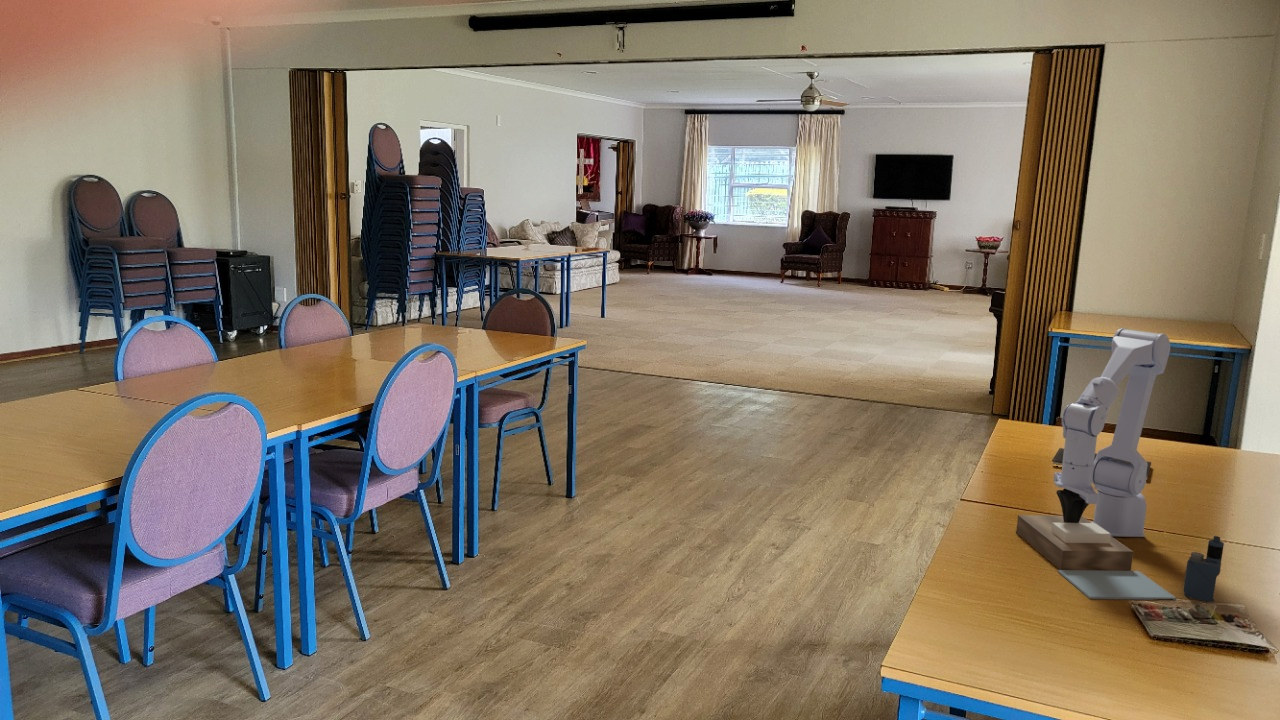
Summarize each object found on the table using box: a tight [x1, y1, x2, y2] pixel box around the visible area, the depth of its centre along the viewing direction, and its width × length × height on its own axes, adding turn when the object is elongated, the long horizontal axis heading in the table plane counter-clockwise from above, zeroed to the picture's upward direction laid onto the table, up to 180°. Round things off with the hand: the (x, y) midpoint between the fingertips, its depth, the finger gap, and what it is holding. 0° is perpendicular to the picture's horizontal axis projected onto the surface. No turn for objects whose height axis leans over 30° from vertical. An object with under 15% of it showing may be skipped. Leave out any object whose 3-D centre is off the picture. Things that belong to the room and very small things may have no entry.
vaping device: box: [1182, 535, 1225, 603], centre depth 171 cm, size 3×5×12 cm, turn 58°
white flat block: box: [1051, 523, 1111, 543], centre depth 189 cm, size 9×6×2 cm, turn 92°
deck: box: [1015, 514, 1134, 571], centre depth 193 cm, size 14×20×4 cm
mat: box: [1057, 569, 1177, 601], centre depth 176 cm, size 16×12×1 cm
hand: (1070, 526), depth 193 cm, fingers closed
